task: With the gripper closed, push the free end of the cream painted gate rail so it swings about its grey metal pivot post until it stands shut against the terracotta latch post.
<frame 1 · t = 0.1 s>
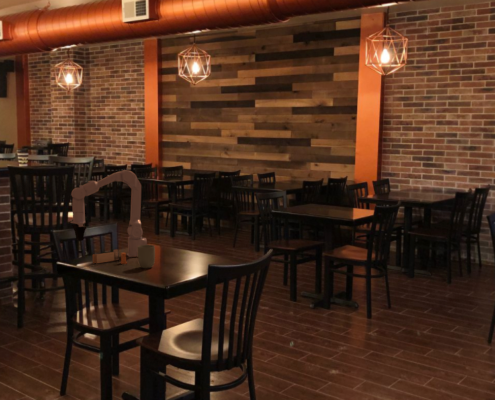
hand: (79, 239, 291), 10 cm above the table, tool pointing down, fingers open, 7 cm apart
pivot post: (116, 259, 291), on the table
cup: (146, 268, 271), on the table
latch stile: (123, 263, 282), on the table
gate rail: (103, 257, 286), point 2 cm above the table, hinge at -65.0°
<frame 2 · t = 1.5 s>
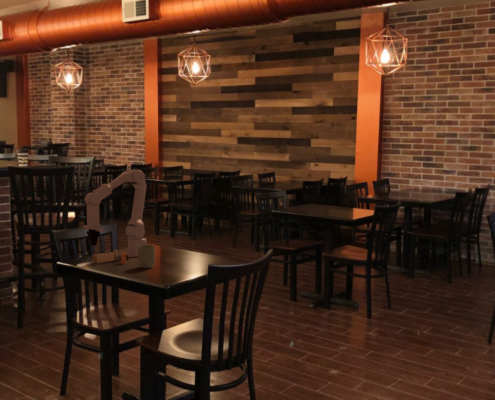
hand: (93, 245, 287), 8 cm above the table, tool pointing down, fingers closed
nothing on the table moved.
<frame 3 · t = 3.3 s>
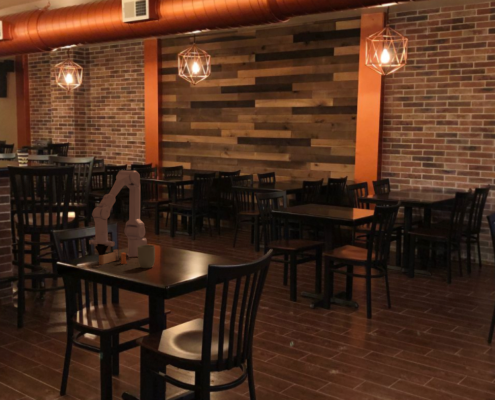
hand: (102, 260, 283), 1 cm above the table, tool pointing down, fingers closed, pressing on gate rail
gate rail: (107, 258, 284), point 2 cm above the table, hinge at -43.9°, touching gripper
everything else where it was.
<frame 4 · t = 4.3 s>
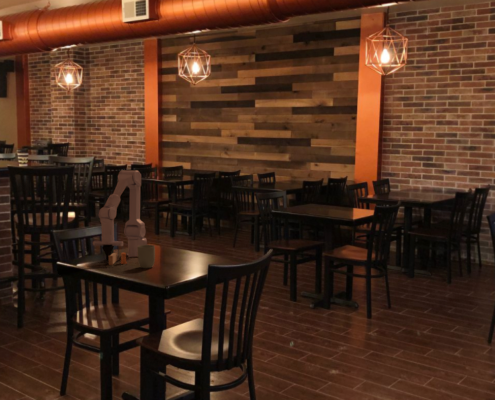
hand: (108, 260, 282), 1 cm above the table, tool pointing down, fingers closed, pressing on gate rail
gate rail: (113, 258, 284), point 2 cm above the table, hinge at -20.4°, touching gripper
everything else where it was.
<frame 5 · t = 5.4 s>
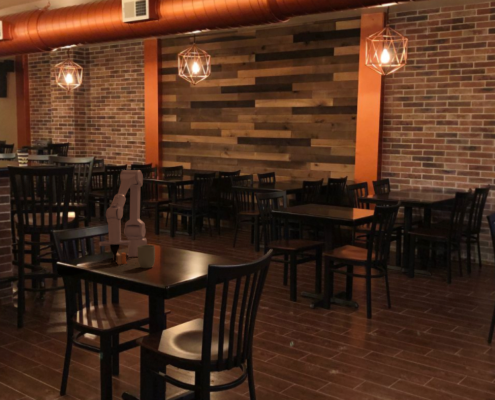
hand: (115, 260, 282), 1 cm above the table, tool pointing down, fingers closed
gate rail: (118, 258, 284), point 2 cm above the table, hinge at -1.0°, touching gripper, latch stile
everything else where it was.
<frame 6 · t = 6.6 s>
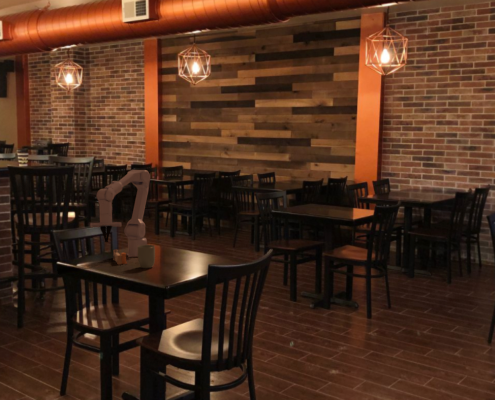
hand: (106, 241, 285), 10 cm above the table, tool pointing down, fingers closed
gate rail: (118, 258, 284), point 2 cm above the table, hinge at -1.0°, touching latch stile
everything else where it was.
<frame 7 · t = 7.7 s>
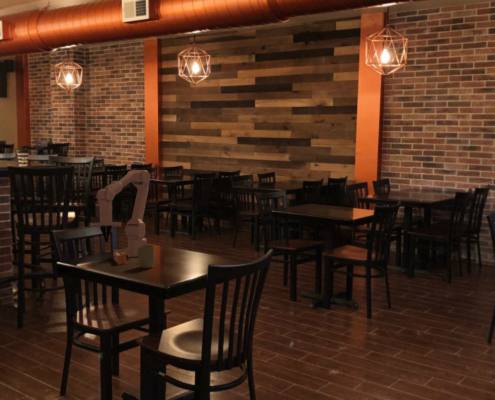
hand: (106, 241, 285), 10 cm above the table, tool pointing down, fingers closed
nothing on the table moved.
at the end: gate rail at -1° (first picture: -65°); the gripper is holding nothing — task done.
